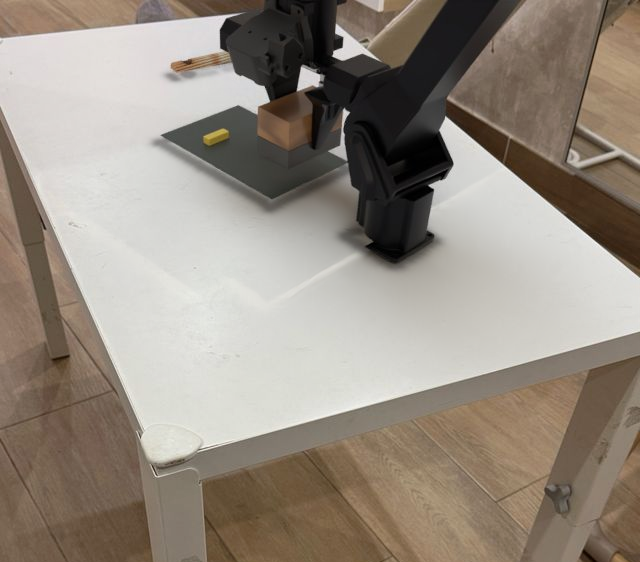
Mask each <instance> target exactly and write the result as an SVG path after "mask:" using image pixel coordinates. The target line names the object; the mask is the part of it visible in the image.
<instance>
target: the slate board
mask: <svg viewBox="0 0 640 562" xmlns="http://www.w3.org/2000/svg"><path fill="white" fill-rule="evenodd" d="M220 129H225V130H227V131H229V138H227V139H225V140H223V141H220V142H218V143H215V144H213V145H210V146H209V145H207V144H205V143H204V140H203V136H205V135H208V134H210V133H213V132H215V131H218V130H220ZM160 136H161V137H162V138H164V139H166V140H167V141H169V142H171V143H172V144H174V145H176V146H178V147H179V148H181V149H183V150H184V151H187V152H189V153H191V154H192V155H194V156H195V157H197V158H199V159H201V160H202V161H204V162H206V163H208V164H209V165H210V166H213V167H214V168H216V169H218V170H220V171H221V172H223V173H225V174H227V175H228V176H230V177H232V178H234V179H236V180H237V181H238V182H241V183H242V184H244V185H246V186H248V187H249V188H251V189H252V190H254V191H256V192H258V193H260V194H262V195H263V196H264V197H267V198H268V199H270V200H274V199H276V198H278V197H280V196H282V195H284V194H286V193H289V192H290V191H293V190H295V189H296V188H299V187H301V186H303V185H305V184H307V183H309V182H312V181H313V180H315V179H318V178H319V177H322V176H324V175H325V174H329V173H330V172H332V171H333V170H334V171H335V170H336V169H338V168H340V167H342V166H344V165H346V164H348V161H347V159H344V158H342V157H340V156H338V155H336V154H335V153H333V152H330V151H327V152H325V153H323V154H321V155H318V156H316V157H314V158H312V159H310V160H308V161H305V162H303V163H301V164H299V165H297V166H295V167H292V168H290V169H286V168H284V167H282V166H280V165H278V164H276V163H275V162H273V161H271V160H269V159H267V158H265V157H264V156H262V155H260V154H258V153H257V137H258V113H255V112H253V111H251V110H249V109H247V108H245V107H243V106H241V105H240V104H237V105H235V106H232V107H230V108H227V109H224V110H222V111H220V112H217V113H214V114H211V115H209V116H207V117H204V118H201V119H199V120H196V121H193V122H191V123H188V124H185V125H183V126H180V127H177V128H175V129H172V130H170V131H167V132H165V133H162V134H160Z"/></svg>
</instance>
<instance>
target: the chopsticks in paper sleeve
mask: <svg viewBox="0 0 640 562" xmlns="http://www.w3.org/2000/svg"><path fill="white" fill-rule="evenodd" d="M230 63H232V61H231V58H230V55H229V53H228V52H226V51H224V50H222V51H218V52H214V53H209V54H204V55H201V56H196V57H191V58H188V59H186V60H177V61H172V62H171V63H170V69H172V70H173V71H174V72H175V73H181V72H185V71H190V70H197V69H204V68H208V67H213V66H217V65H223V64H230Z"/></svg>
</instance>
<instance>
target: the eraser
mask: <svg viewBox="0 0 640 562" xmlns="http://www.w3.org/2000/svg"><path fill="white" fill-rule="evenodd" d="M316 87H317V86H315V85H310V86H307V87H305V88H302V89H299V90H297V92H294V93H292V94H289V95H286V96H284V97H281V98H279V99H276V100H274V101H271V102H270V101H268V102H266V103H264V104H261V105H259V106H257V115H258V137H257V153H258V154H260V155H262V156H264V157H265V158H267V159H269V160H271V161H273V162H275V163H276V164H278V165H280V166H282V167H284V168H286V169H290V168H292V167H295V166H297V165H299V164H301V163H303V162H305V161H308V160H310V159H312V158H314V157H316V156H318V155H321V154H323V153H325V152H327V151H328V152H330V151H332V150H334V149H336V148H338V147H340V146H341V140H342V132H343V119H344V117H343V116H344V110H343V111H342V113H341V114H340V116H339V118H338V119H337V121H336V123H335V125H334V127H333V128H332V130H331V132H330V134H329V136H328V137H327V139H326V141H325V143H324V144H323V146H322V148H320V149H318V150H314V149H313V148H312V137H311V135H312V103H311V101H310V100H309V99H308V98H307V97H306V95H305V94H304V92H306V91H309V90H311V89H314V88H316Z"/></svg>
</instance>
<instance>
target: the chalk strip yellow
mask: <svg viewBox="0 0 640 562" xmlns="http://www.w3.org/2000/svg"><path fill="white" fill-rule="evenodd" d="M227 138H229V131H227V130H225V129H220V130H218V131H215V132H213V133H210V134H208V135H205V136H203V140H204V143H205V144H207V145H209V146H210V145H213V144H215V143H218V142H220V141H223V140H225V139H227Z"/></svg>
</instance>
